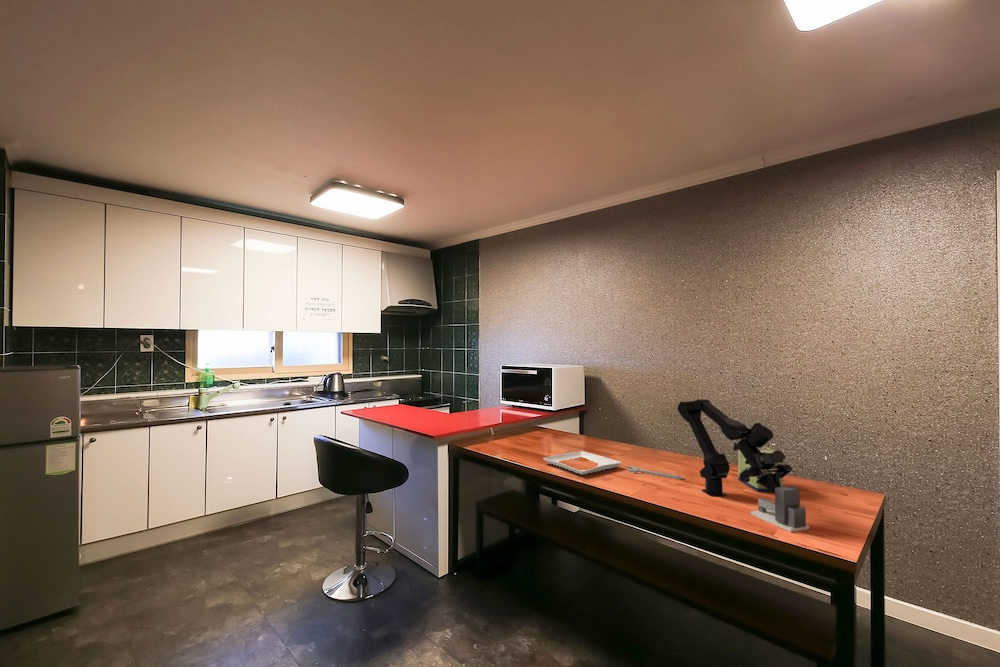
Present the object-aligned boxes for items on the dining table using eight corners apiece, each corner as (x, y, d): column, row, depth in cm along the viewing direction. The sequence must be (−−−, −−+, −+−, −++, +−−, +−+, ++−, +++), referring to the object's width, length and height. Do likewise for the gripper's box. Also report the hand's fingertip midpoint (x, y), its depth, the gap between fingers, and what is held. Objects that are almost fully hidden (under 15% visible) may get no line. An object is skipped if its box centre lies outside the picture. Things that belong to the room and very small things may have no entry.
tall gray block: (775, 520, 137) (775, 487, 137) (791, 517, 139) (790, 485, 140) (784, 524, 134) (783, 490, 135) (800, 521, 136) (799, 488, 137)
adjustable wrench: (683, 479, 184) (683, 475, 184) (679, 483, 179) (679, 479, 179) (628, 468, 200) (628, 465, 200) (623, 472, 195) (623, 468, 195)
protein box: (757, 492, 168) (757, 453, 168) (737, 479, 183) (737, 444, 184) (784, 492, 167) (783, 453, 168) (761, 480, 183) (761, 444, 183)
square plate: (622, 469, 199) (622, 461, 199) (582, 479, 183) (582, 470, 183) (581, 456, 221) (581, 449, 221) (542, 464, 205) (542, 456, 206)
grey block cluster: (755, 511, 145) (755, 494, 146) (766, 509, 147) (766, 492, 147) (794, 528, 132) (794, 509, 132) (805, 526, 134) (805, 507, 134)
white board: (750, 514, 145) (750, 511, 145) (768, 511, 148) (768, 508, 148) (790, 532, 132) (790, 528, 132) (809, 529, 134) (809, 525, 134)
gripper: (746, 443, 142) (776, 487, 131) (787, 440, 147) (819, 481, 136) (727, 461, 149) (755, 503, 138) (767, 457, 154) (796, 497, 143)
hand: (782, 496), depth 139 cm, fingers closed, pressing on tall gray block
